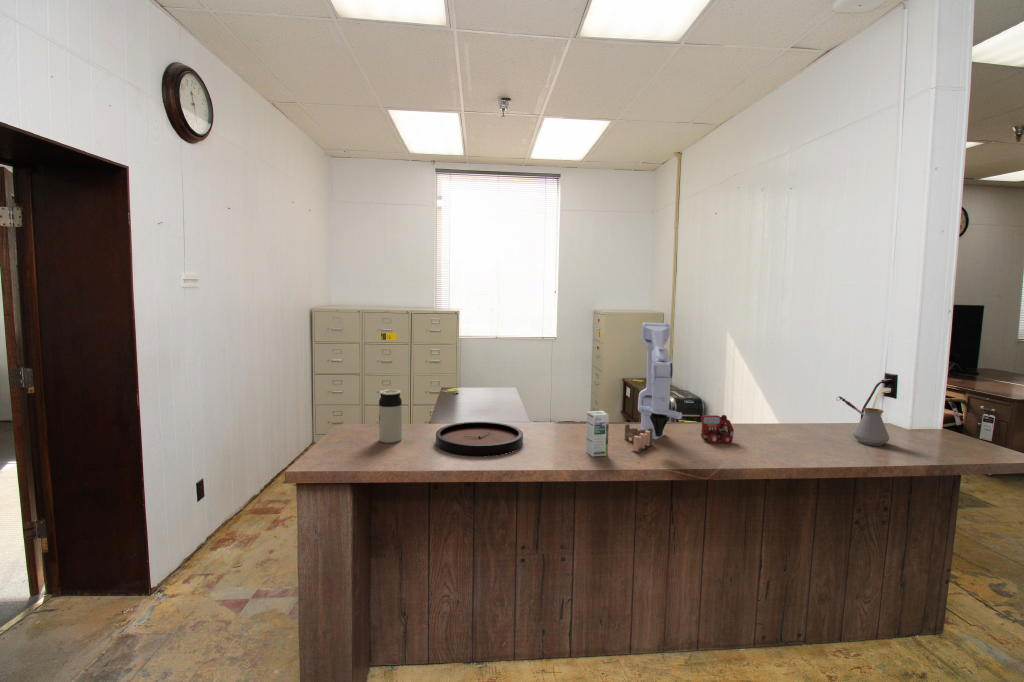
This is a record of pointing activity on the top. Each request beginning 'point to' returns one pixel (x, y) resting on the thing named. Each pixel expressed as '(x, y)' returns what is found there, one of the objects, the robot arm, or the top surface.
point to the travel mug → (390, 416)
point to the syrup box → (597, 433)
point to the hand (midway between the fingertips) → (658, 436)
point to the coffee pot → (870, 426)
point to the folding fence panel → (641, 441)
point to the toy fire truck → (716, 429)
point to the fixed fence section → (635, 433)
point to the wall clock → (479, 439)
